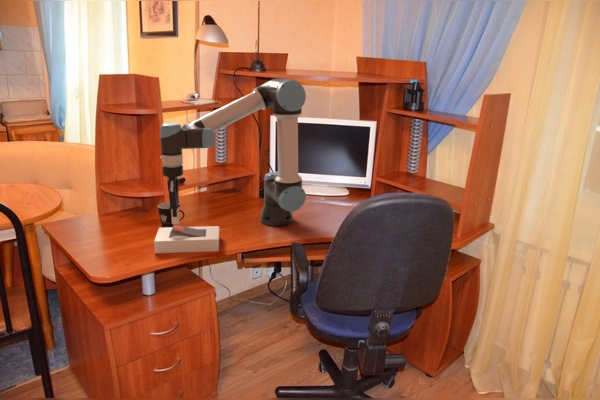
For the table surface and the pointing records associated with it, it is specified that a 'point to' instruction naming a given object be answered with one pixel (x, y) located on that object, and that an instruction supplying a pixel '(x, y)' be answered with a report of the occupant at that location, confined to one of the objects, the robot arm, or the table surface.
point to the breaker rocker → (187, 231)
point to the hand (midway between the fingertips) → (175, 223)
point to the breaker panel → (186, 241)
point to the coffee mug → (166, 215)
